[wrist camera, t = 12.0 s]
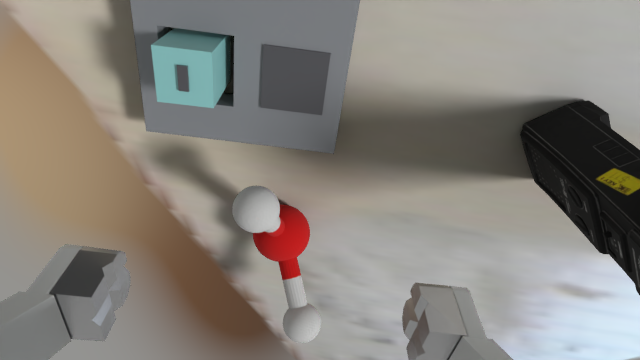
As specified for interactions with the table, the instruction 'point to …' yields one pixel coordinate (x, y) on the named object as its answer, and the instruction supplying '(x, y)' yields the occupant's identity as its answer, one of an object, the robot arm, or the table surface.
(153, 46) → the block
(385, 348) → the table surface
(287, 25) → the outlet plate
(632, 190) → the portable radio
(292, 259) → the molecular model
